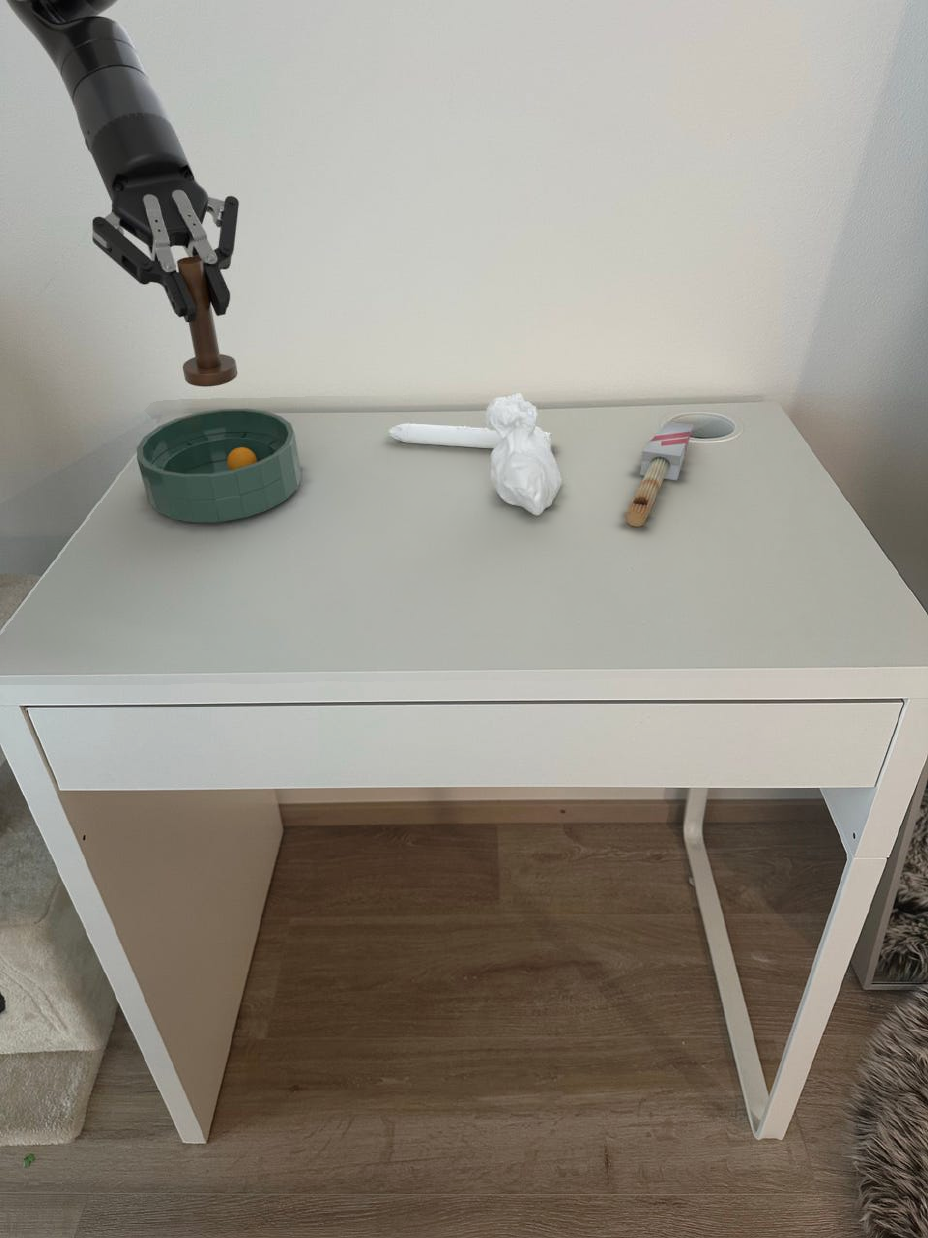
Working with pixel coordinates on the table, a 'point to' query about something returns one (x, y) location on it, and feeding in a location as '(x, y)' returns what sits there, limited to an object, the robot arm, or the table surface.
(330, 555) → the table surface
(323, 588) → the table surface
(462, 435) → the marker
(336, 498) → the table surface
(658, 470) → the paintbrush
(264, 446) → the bowl
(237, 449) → the bead
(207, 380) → the wooden peg stand
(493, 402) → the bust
